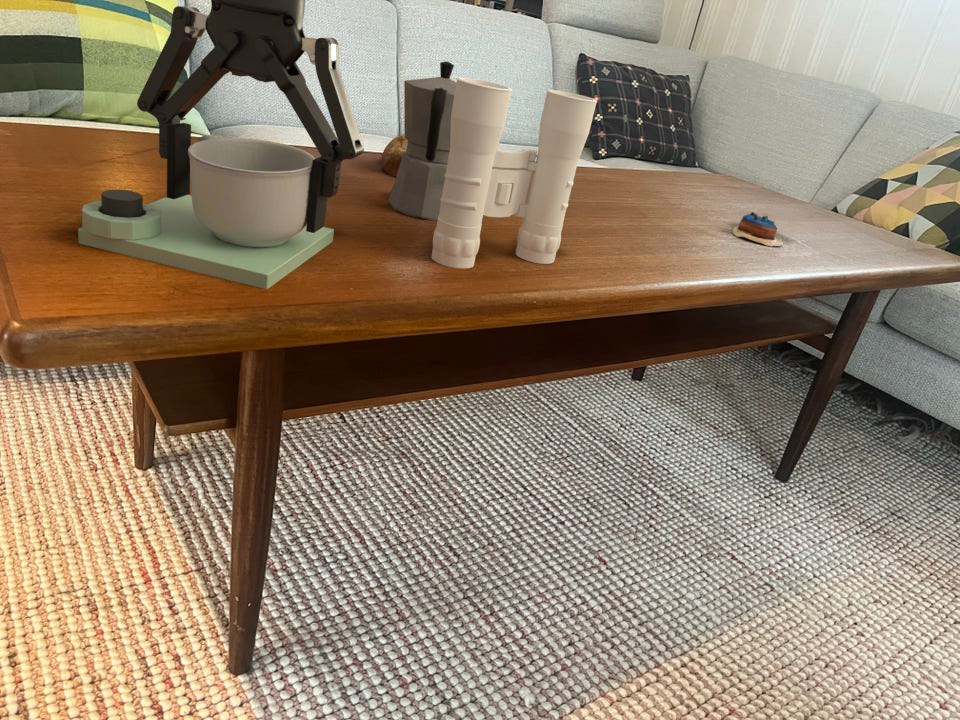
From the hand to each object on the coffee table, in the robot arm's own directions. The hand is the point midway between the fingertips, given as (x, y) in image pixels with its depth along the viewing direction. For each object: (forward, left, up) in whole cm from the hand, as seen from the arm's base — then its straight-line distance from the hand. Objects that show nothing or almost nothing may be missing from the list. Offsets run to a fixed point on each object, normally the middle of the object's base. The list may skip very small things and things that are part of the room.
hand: (246, 212), depth 68 cm
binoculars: (+23, +14, -3) cm, 27 cm away
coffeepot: (+11, +26, -3) cm, 29 cm away
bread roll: (+5, +46, -3) cm, 47 cm away
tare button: (-8, -7, -1) cm, 10 cm away
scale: (-2, -1, -3) cm, 4 cm away
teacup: (0, 0, -2) cm, 2 cm away
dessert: (+59, +56, -3) cm, 82 cm away
